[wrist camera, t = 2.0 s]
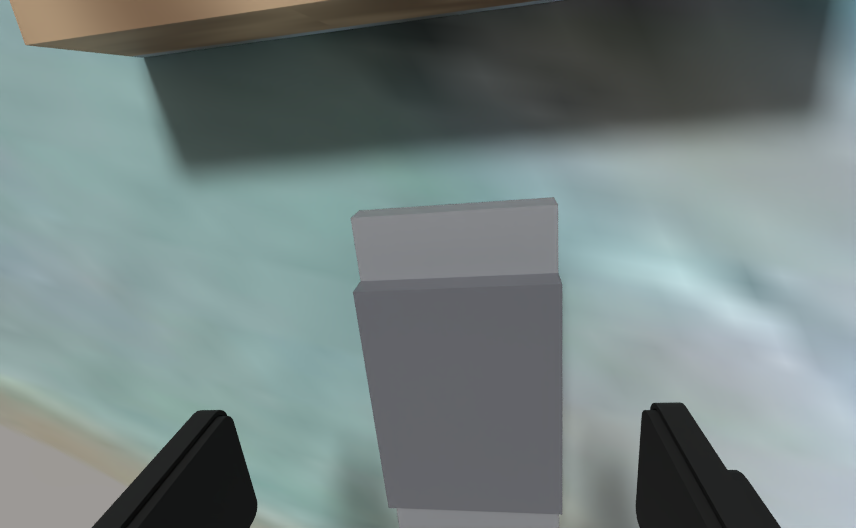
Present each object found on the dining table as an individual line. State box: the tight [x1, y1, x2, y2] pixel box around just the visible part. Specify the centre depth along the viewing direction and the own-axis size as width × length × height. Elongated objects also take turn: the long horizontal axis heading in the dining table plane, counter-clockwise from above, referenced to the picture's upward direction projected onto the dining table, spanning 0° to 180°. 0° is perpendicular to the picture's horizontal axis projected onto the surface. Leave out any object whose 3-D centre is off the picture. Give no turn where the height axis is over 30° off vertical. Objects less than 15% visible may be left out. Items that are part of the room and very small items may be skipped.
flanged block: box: [351, 197, 562, 528], centre depth 14 cm, size 5×10×5 cm, turn 5°
